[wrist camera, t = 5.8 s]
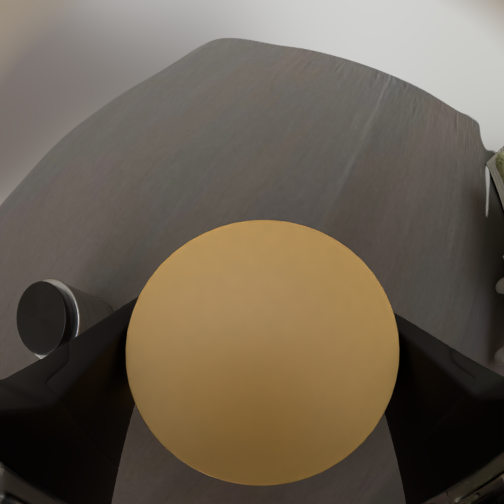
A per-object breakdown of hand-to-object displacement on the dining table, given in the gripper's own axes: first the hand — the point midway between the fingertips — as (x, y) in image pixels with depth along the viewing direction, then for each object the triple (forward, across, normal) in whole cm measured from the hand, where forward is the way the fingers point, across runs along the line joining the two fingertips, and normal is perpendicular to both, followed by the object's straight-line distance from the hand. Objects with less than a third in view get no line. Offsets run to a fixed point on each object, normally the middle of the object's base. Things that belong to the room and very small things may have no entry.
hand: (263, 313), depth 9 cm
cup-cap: (+4, 0, +6) cm, 7 cm away
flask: (+4, +10, +5) cm, 12 cm away
